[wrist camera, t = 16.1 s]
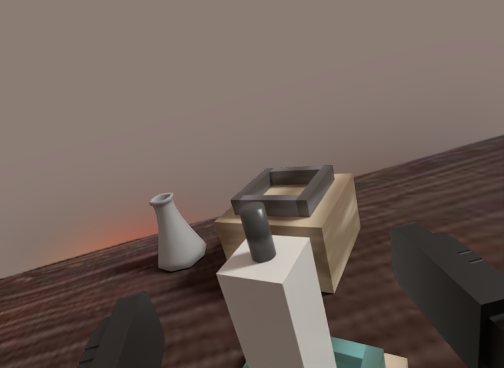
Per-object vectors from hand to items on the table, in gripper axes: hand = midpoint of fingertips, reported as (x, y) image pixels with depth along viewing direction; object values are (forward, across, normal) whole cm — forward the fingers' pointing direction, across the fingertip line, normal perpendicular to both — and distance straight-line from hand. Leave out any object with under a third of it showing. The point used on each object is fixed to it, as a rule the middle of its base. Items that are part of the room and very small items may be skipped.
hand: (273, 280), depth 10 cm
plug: (+7, 0, +17) cm, 18 cm away
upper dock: (+27, -4, +18) cm, 33 cm away
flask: (+33, +12, +18) cm, 40 cm away
